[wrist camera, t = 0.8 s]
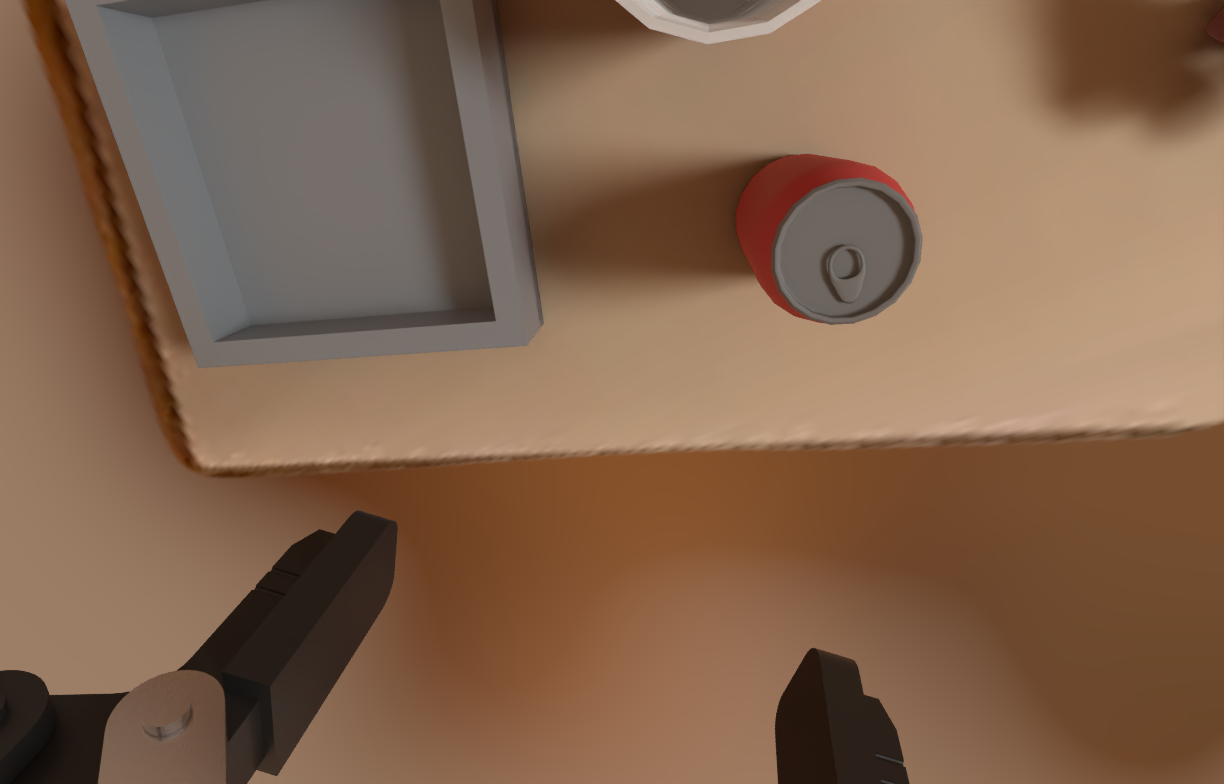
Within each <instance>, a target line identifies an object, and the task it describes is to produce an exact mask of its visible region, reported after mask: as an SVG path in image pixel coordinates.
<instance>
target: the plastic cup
mask: <svg viewBox="0 0 1224 784" xmlns="http://www.w3.org/2000/svg"><path fill="white" fill-rule="evenodd" d="M616 1H617V2H618V3H619V4H620V5H621V6H623V7H624V8H625V9H626V10H627V11H629V12H630V13H631V14H632V15H633V16H634V17H636V18H637V19H638V20H639V21H640V22H642V23H643V24H644V25H645V26H646V27H648V28H649V29H652V30H656V31H660V32H664V33H667V34H671V35H675V36H678V37H682V38H686V39H690V40H693V41H697V42H701V43H704V44H712V43H718V42H724V41H729V40H735V39H741V38H746V37H752V36H758V35H764V34H769V33H771V32H773V31H774V30H776V29H778V28H779V27H781V26H782V25H784V24H785V23H787V22H789V21H790V20H792V19H793V18H795V17H796V16H798V15H799V14H801V13H803V12H804V11H806V10H807V9H809V8H810V7H812V6H814V5H815V4H817V3H818V2H820V1H821V0H616Z"/></svg>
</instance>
